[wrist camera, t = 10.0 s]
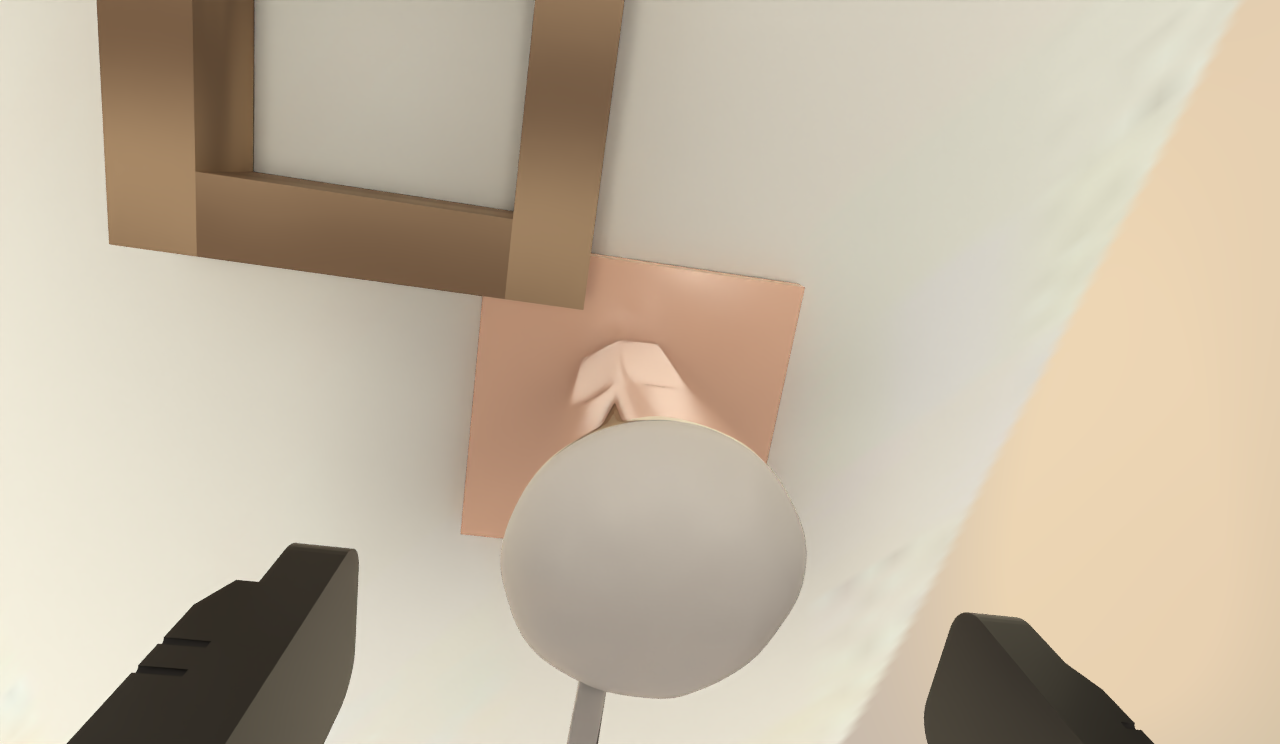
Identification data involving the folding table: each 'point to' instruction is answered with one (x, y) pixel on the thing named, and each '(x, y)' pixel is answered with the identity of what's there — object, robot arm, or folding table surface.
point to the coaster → (613, 310)
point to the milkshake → (648, 538)
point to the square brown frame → (336, 214)
